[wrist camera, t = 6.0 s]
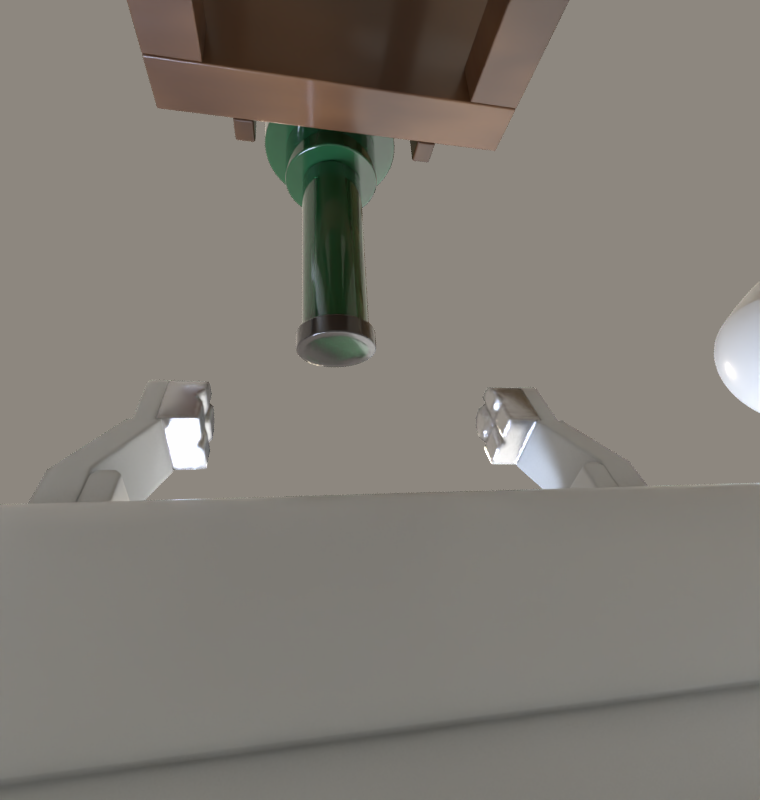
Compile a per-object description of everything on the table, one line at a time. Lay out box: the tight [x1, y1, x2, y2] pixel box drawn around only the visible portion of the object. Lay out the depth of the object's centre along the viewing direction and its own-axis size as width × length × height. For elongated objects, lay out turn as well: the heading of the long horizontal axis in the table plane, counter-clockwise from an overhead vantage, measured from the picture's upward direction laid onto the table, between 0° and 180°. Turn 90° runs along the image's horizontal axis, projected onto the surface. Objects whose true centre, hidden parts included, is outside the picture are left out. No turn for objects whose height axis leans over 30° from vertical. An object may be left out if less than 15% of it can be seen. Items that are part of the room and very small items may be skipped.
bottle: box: [265, 122, 394, 367], centre depth 23 cm, size 6×26×6 cm, turn 177°
